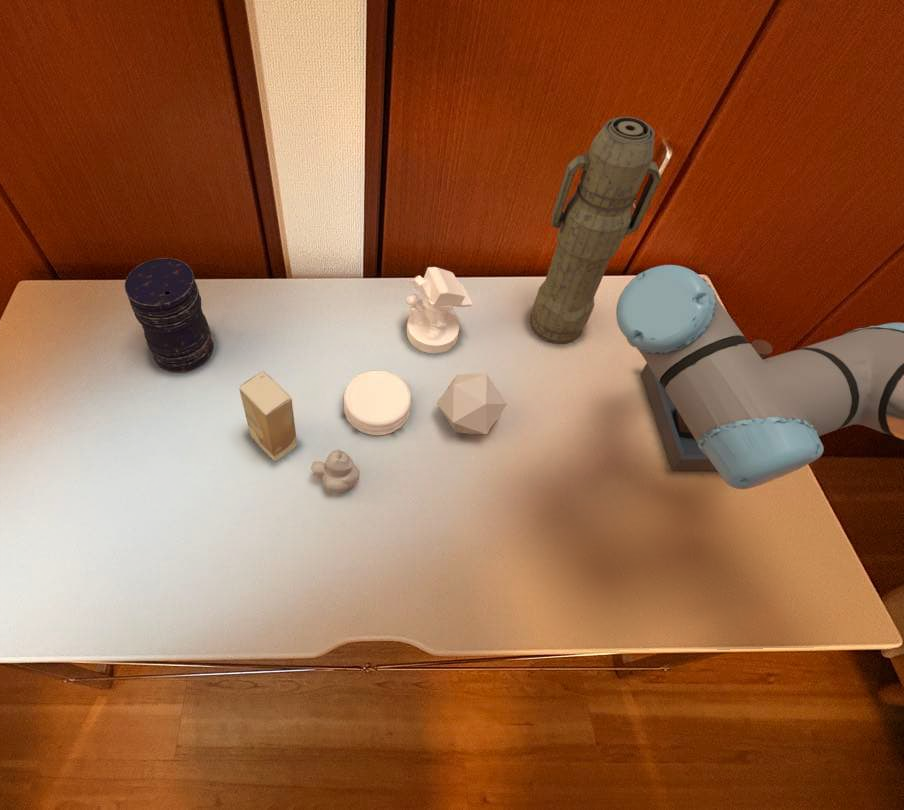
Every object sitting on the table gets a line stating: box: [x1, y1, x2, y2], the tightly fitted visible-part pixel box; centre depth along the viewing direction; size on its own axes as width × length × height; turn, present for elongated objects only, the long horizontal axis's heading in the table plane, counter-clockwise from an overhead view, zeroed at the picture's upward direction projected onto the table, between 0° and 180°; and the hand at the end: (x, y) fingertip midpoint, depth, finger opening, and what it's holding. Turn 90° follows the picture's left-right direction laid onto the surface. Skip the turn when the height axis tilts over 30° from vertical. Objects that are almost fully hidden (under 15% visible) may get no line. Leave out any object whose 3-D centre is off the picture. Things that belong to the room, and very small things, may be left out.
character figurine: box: [405, 266, 473, 355], centre depth 97 cm, size 9×10×12 cm
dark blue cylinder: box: [124, 257, 214, 374], centre depth 93 cm, size 10×10×15 cm
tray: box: [640, 363, 718, 472], centre depth 91 cm, size 18×14×3 cm
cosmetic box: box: [238, 370, 298, 462], centre depth 84 cm, size 6×4×12 cm
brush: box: [673, 339, 773, 438], centre depth 83 cm, size 7×5×18 cm
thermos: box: [529, 116, 662, 345], centre depth 89 cm, size 9×12×35 cm
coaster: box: [343, 369, 412, 436], centre depth 91 cm, size 10×10×4 cm
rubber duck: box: [310, 449, 360, 494], centre depth 82 cm, size 5×7×8 cm
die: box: [436, 373, 508, 435], centre depth 89 cm, size 8×9×10 cm
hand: (729, 380), depth 79 cm, fingers open, 13 cm apart
